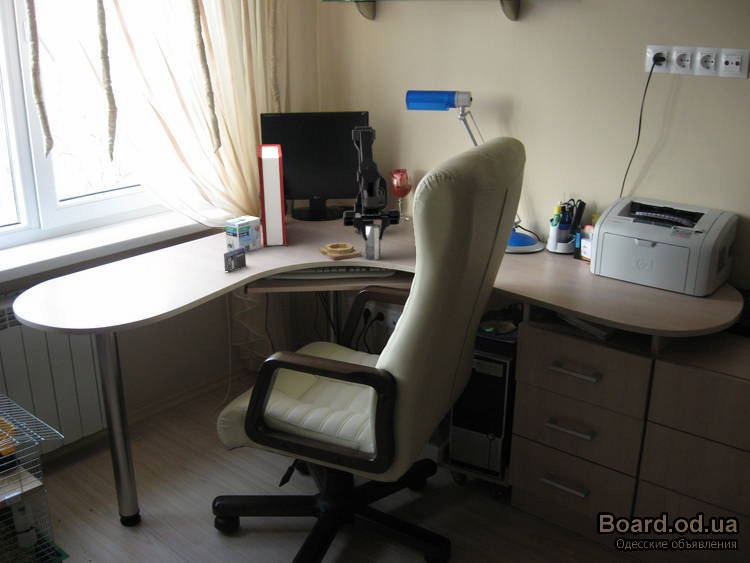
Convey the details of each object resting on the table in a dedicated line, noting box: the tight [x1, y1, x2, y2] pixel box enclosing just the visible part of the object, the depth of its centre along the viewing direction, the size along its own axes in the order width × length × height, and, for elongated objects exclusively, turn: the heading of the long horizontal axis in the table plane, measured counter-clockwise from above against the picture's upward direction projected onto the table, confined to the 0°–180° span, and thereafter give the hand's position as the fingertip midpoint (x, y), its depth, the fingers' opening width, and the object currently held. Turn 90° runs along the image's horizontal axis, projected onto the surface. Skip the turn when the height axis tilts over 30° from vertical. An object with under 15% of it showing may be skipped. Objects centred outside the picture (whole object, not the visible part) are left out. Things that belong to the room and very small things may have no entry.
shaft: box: [364, 223, 381, 261], centre depth 244 cm, size 5×5×11 cm
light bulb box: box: [224, 215, 262, 253], centre depth 255 cm, size 11×7×11 cm, turn 143°
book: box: [257, 143, 287, 248], centre depth 267 cm, size 27×8×32 cm, turn 8°
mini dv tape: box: [223, 248, 247, 273], centre depth 235 cm, size 8×2×6 cm, turn 149°
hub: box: [318, 242, 362, 261], centre depth 250 cm, size 12×10×3 cm
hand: (373, 239), depth 242 cm, fingers closed on shaft, 5 cm apart
